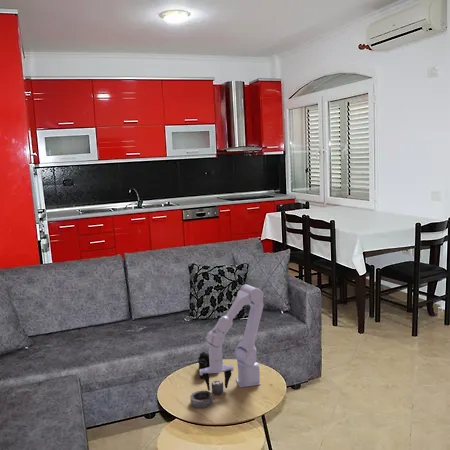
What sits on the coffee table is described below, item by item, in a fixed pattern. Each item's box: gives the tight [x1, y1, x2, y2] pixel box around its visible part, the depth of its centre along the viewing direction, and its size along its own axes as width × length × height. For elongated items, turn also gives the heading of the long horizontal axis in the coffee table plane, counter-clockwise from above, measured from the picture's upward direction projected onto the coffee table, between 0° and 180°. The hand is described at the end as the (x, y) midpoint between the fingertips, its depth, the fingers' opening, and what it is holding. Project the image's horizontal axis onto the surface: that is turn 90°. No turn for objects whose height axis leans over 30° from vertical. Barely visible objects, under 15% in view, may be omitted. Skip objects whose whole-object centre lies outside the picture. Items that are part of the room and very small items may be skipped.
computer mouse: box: [211, 380, 224, 396], centre depth 201 cm, size 5×5×4 cm
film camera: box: [197, 351, 210, 380], centre depth 221 cm, size 15×10×9 cm, turn 179°
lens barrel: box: [190, 390, 214, 410], centre depth 193 cm, size 9×9×3 cm
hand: (217, 388), depth 201 cm, fingers open, 7 cm apart
